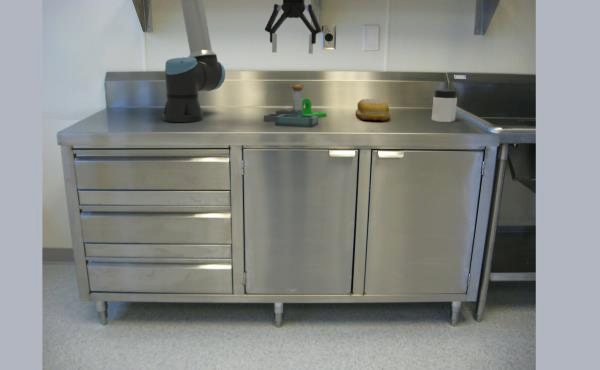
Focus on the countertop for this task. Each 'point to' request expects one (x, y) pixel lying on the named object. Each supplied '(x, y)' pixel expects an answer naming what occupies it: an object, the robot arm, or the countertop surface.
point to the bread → (372, 110)
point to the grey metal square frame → (270, 117)
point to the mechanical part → (308, 109)
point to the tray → (296, 120)
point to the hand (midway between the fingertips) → (292, 53)
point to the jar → (444, 105)
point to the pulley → (285, 110)
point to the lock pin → (297, 100)
